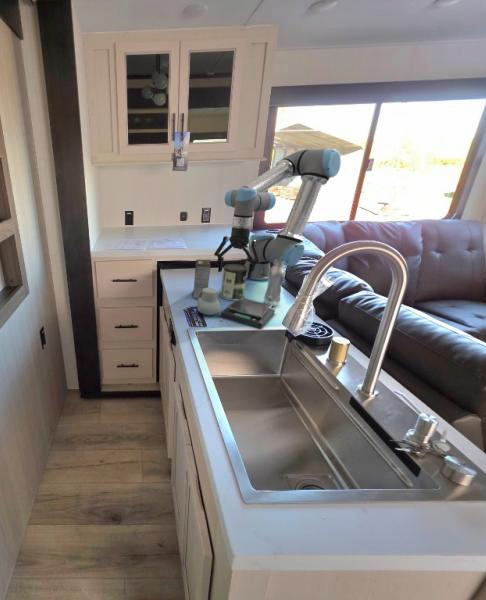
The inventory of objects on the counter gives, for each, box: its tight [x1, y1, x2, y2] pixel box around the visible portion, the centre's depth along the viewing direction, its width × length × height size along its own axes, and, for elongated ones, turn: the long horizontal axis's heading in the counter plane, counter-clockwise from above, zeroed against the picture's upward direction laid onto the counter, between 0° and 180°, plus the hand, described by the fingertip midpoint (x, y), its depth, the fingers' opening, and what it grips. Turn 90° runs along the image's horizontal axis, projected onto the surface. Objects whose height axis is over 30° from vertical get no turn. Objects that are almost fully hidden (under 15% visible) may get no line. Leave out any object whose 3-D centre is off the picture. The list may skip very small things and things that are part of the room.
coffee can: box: [219, 263, 248, 302], centre depth 143 cm, size 10×10×14 cm
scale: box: [220, 300, 276, 330], centre depth 127 cm, size 16×16×2 cm
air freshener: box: [196, 287, 221, 316], centre depth 128 cm, size 11×8×10 cm
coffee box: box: [192, 259, 211, 300], centre depth 144 cm, size 9×6×16 cm
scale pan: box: [227, 297, 273, 319], centre depth 127 cm, size 13×13×1 cm
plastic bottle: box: [263, 259, 286, 307], centre depth 133 cm, size 6×7×20 cm
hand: (234, 274), depth 141 cm, fingers open, 13 cm apart
